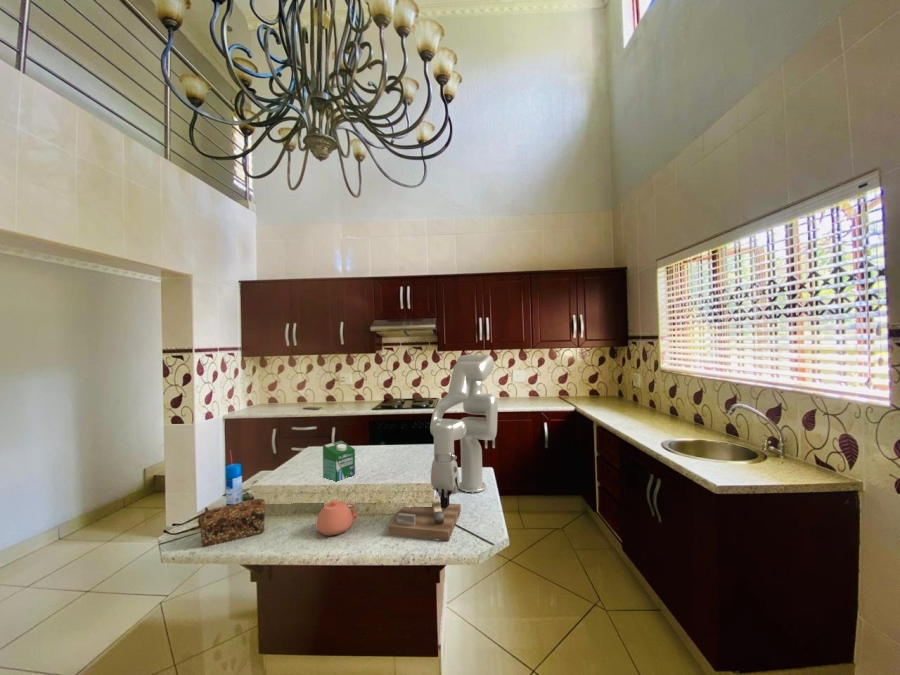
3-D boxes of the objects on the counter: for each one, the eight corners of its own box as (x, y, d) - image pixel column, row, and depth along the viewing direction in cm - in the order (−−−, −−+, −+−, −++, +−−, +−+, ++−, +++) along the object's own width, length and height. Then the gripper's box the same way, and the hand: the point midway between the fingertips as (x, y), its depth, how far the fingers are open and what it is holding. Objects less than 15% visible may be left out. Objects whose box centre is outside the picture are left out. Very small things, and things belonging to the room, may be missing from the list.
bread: (265, 521, 132) (264, 494, 132) (264, 534, 123) (264, 505, 123) (204, 534, 123) (204, 505, 124) (199, 549, 114) (199, 518, 114)
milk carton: (336, 513, 137) (336, 448, 138) (323, 507, 143) (322, 444, 144) (355, 505, 144) (354, 443, 145) (342, 499, 150) (341, 440, 151)
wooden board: (409, 507, 141) (408, 492, 141) (460, 512, 136) (460, 496, 136) (388, 535, 120) (388, 517, 121) (448, 541, 116) (448, 522, 116)
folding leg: (444, 523, 121) (444, 515, 121) (435, 524, 120) (435, 515, 120) (438, 502, 137) (438, 495, 137) (430, 503, 137) (430, 496, 137)
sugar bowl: (314, 526, 127) (314, 497, 128) (353, 517, 134) (353, 490, 134) (318, 542, 116) (318, 511, 117) (361, 532, 123) (360, 502, 123)
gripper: (466, 457, 131) (467, 507, 131) (433, 451, 139) (433, 499, 138) (456, 462, 125) (457, 515, 124) (421, 456, 133) (422, 506, 132)
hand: (444, 507), depth 131 cm, fingers closed
